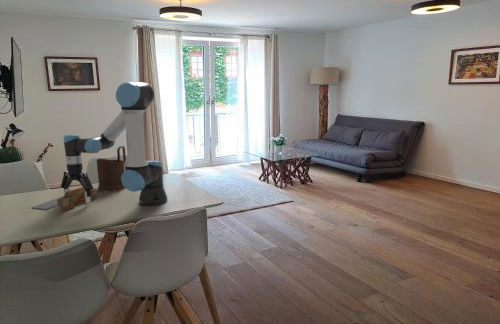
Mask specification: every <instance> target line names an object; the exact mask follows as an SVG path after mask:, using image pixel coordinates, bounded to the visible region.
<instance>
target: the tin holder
mask: <svg viewBox="0 0 500 324" xmlns="http://www.w3.org/2000/svg"><path fill="white" fill-rule="evenodd" d="M97 189H98V188H94V187H93V189H92V190H90V193H91V196H90V201H91V202H93V201H94V200H97V199H98V193H97V191H98V190H97ZM60 197H61V198H60ZM60 197H58V198H59V199H57V198H56V199H57V205H58V206H57V210H58V211H60V212H67V211H69V210H73V209H74V206H73V198H72V197H71V198H65V197H63V196H60Z"/></svg>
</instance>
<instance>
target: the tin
mask: <svg viewBox="0 0 500 324" xmlns="http://www.w3.org/2000/svg"><path fill="white" fill-rule="evenodd" d="M87 189H88V188H87ZM85 191H86V190H85V189H84V188H83V186H81V187H77V188H74V189H70V190H69V191H67V192H66V193H65V192H64V195H63V196H64V197H65V198H71V197H72V198H73V207H74V206H76V205H81V204H83V203H86V200H85Z"/></svg>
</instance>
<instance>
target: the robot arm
mask: <svg viewBox="0 0 500 324" xmlns="http://www.w3.org/2000/svg"><path fill="white" fill-rule="evenodd" d="M115 99H116V102H117V103H118V105H119V106H120V108H121V111H120V112H119V114H117V116H116V117H115V118H114V119H113V121H112V122H110V124H109V125H108V126H107V127H106V128H105V129H104V131H103V132H102V133H101V134H100V135H98V136H95V137H90V138H80V135H79V134H78V133H70V134H65V135H64V136H63V146H64V152H65V153H64V154H65V163H66V170H65V171H63V176H62V180H61V183H60V188H62V189H63V190H64V194H65V193H66V192H67V191H69V190H71V188H70V186H71V184H72V183H73V181H76V182H78V183H79V184H80V185H81V187H83V188H84V189H85V190H86V191H85V200H86V202H85V203H86V204H88V203H91V202H92V201H90V196H91V193H90V190H92V189H93V188H94V187H93V185H92V182H91V180H90V178H89V176H88V173H87V172H83V163H82V154H83V153H84V154H98V153H100V152H101V151H103V150H108V149H110V148H112V147H114V146H115V144H116V140H117V139H118V138H119V137H120V135H121V134H122V133H123V132H124V131H125V137H126V139H125V140H126V151H127V153H126V154H127V162H125V164H124V173H123V174H122V176H121V181H122V184H123V186H124V187H126V190H128V191H130V192H132V193H133V192H139V191H140V194H139V197H138V199H139V200H138V202H139V204H140V205H142V206H159V205H161V204H165V203H166V202H168V195H167V193H166V190H165V187H164V178H163V175H164V174H163V164H162V161H160V160H146V148H145V147H146V144H145V124H144V113H145V112H146V111H147V109H148V108H149V107H150V105H151V104H152V103H153V101H154V99H155V90H154V89H153V87H152V85H150V84H149V83H147V82H144V81H141V82H140V81H138V82H137V81H136V82H135V81H127V82H122V83H121V84H120V85H119V86H118V87H117V89H116V92H115ZM87 188H88V189H87Z"/></svg>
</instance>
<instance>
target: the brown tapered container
mask: <svg viewBox="0 0 500 324" xmlns="http://www.w3.org/2000/svg"><path fill="white" fill-rule="evenodd" d="M121 149H122V159H123V160H122V159H121V154H120V150H121ZM116 152H117V159H106V158H97V159H96V167H97V169H96V170H97V178H98V187H97V188H96V189H97V191H98V192H101V191H102V192H101V193H103V192H104V193H111V192H119V191H123V190H125V189H126V187H124V186H123V184H122V181H121V176H122V174H123V173H124V171H125V164H126V160H127V158H126V148H125V146H123V145H121V146H118V147H117V149H116ZM126 190H127V189H126Z"/></svg>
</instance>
